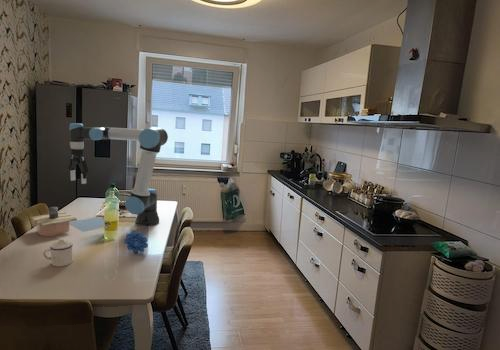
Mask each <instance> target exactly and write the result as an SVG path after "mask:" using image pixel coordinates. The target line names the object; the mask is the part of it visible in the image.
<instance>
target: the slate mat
mask: <svg viewBox="0 0 500 350" xmlns="http://www.w3.org/2000/svg"><path fill="white" fill-rule="evenodd" d="M102 217H103V216H102ZM102 217H99V216H95V217H89V218H84V219H79V220H78V219H77V220H76V221H71V222H70V226H72V227H74V228H76V229H78V230H79V231H81V232H82V233H85V232H88V231H93V230H97V229H102V228H105V227H104V220H103V218H102Z"/></svg>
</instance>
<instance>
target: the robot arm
mask: <svg viewBox="0 0 500 350" xmlns="http://www.w3.org/2000/svg"><path fill="white" fill-rule="evenodd" d="M68 131H69V132H68V133H69V147H70V150H69V151H70V155H69V157H70V158H69V162H68V170H69V171H70V181H71V182H72V181H76V179H77V177H76V168H77V167H76V166H77V165H78V167H79V169H80V171H81V172H80V179H81V184H82V185H85V184H87V173H89V168H88V166H87V162H86V157H85V156H84V155H85V149H84V147H85V144H84V143H85V142H84V140H87V141H88V140H91V141H100V140H105V139H106V140H117V141H118V140H120V141H135V142H136V141H137V142H139V143H140V145H139V150H140V151H141V154H140V159H139V163H138V168H137V172H136V178H135V180H134V181H135V182H134V187H133V188H132V189H131V190H130V192H129V193H130V197H129V198H127V200H126V202H125V209H126V211H127V212H129V214H132V215H136V217H135V224H137V225H141V226H144V227H148V226H154V225H155V226H156V225H157V224H160V217H159V215H158V214H159V213H158V209H157V208H158V205H157V203H158V191H157V189H155V188H150V185H151V181H152V177H153V170H154V167H155V162H156V157H157V154H159V153H160V151H161V148H162V146H164V145H165V144H167V142H168V140H169V135H168V132H167V131H166V130H165V129H164V128H163V127H146V128H143V129H142V128H141V129H140V128H124V127H111V126H110V127H108V126H101V127H99V126H97V127H96V126H95V127H93V126H92V127H90V126H88V127H87V126H84V124H83V123H79V122H77V123H75V122H74V123H73V122H71V123H70V124H69V130H68Z"/></svg>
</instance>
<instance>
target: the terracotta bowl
mask: <svg viewBox="0 0 500 350" xmlns="http://www.w3.org/2000/svg"><path fill="white" fill-rule="evenodd" d="M36 224H37V225H36V227H37V234H38V235H39V234H40V236H44V237H55V236H56V237H57V236H58V235H60V234H65V233H66V232H69V231H70V229H71V224H70V222H66V223H60V224H55V225H50V226H45V227H42V226H41V225H39V224H38V223H36Z"/></svg>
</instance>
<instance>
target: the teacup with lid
mask: <svg viewBox="0 0 500 350" xmlns="http://www.w3.org/2000/svg"><path fill="white" fill-rule="evenodd" d="M47 252H50V254H51V255H50V257H48V256H47V255H46V253H47ZM42 255H43V258H44V259H45V260H51V265H52V266H54V267H59V268H60V267H66V266H68V265H70V264H72V263H73V243H72V241H68V240H65V239H63V238H59V239H58V241H56V242H53V243H52V244H51V245H50V247H49V248H48V249H45V250H44V251H43V253H42Z"/></svg>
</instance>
